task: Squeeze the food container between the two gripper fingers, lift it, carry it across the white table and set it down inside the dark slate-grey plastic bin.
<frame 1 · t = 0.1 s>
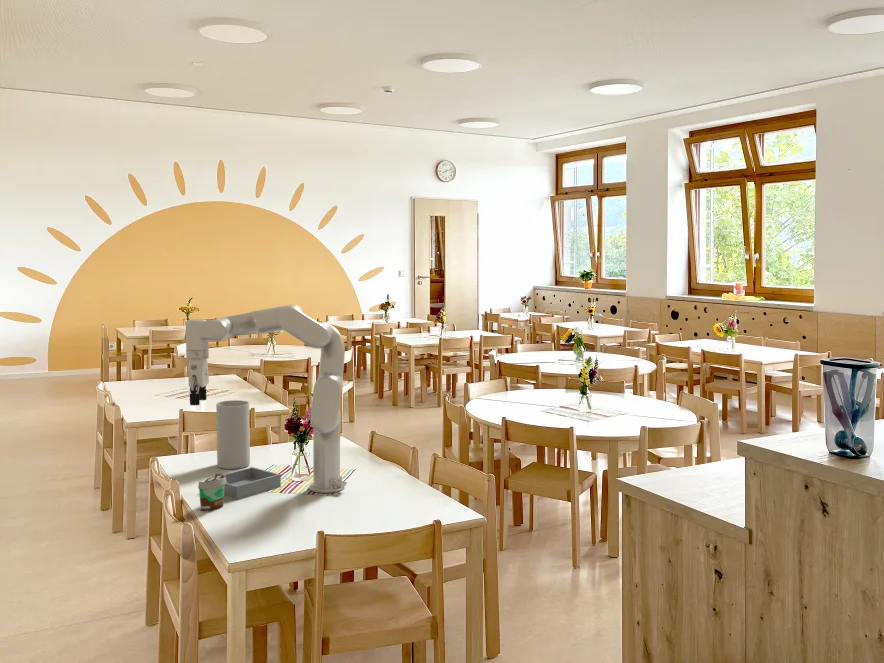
hand: (198, 402, 278), 31 cm above the table, tool pointing down, fingers open, 9 cm apart
bin: (244, 488, 282), on the table
cylinder vase: (233, 466, 312), on the table
food container: (216, 507, 261), on the table
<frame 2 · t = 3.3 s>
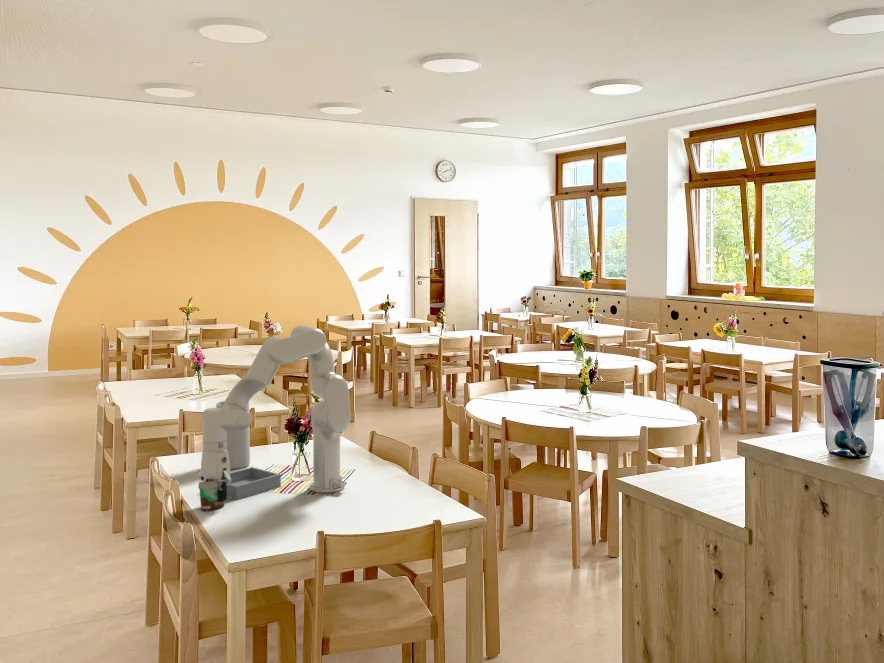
hand: (215, 498, 261), 3 cm above the table, tool pointing down, fingers closed on food container, 6 cm apart
food container: (217, 507, 261), on the table, touching gripper
everything else where it was.
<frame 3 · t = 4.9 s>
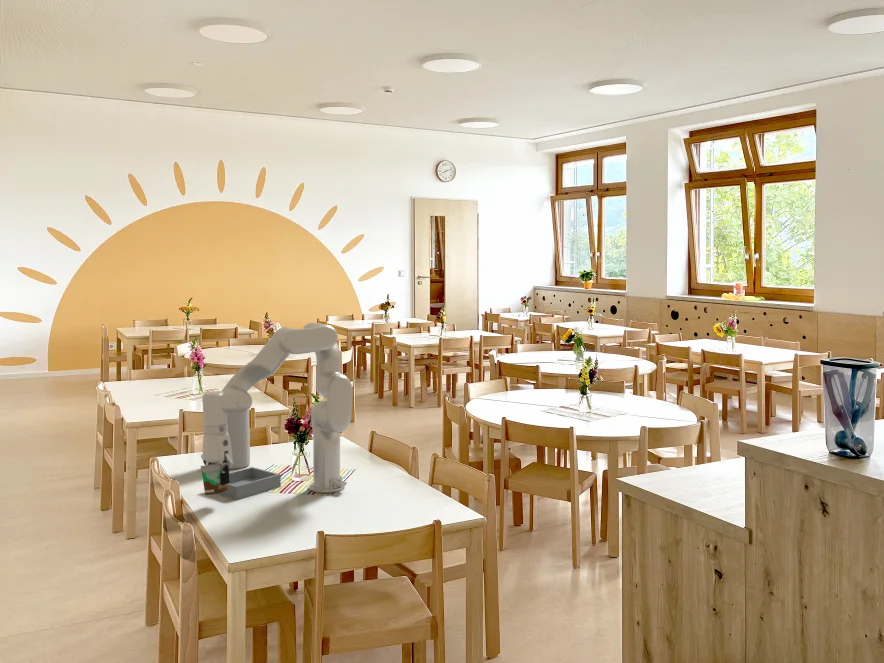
hand: (218, 481, 261), 8 cm above the table, tool pointing down, fingers closed on food container, 6 cm apart
food container: (221, 491, 261), point 5 cm above the table, touching gripper
everything else where it was.
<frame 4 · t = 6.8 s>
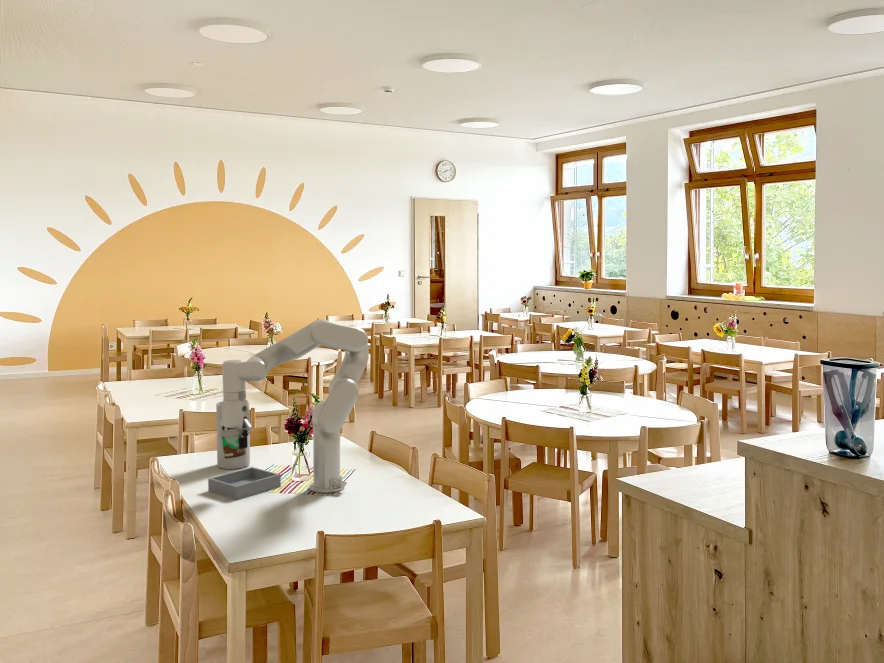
hand: (236, 446, 273), 17 cm above the table, tool pointing down, fingers closed on food container, 6 cm apart
food container: (239, 455, 273), point 14 cm above the table, touching gripper
everything else where it was.
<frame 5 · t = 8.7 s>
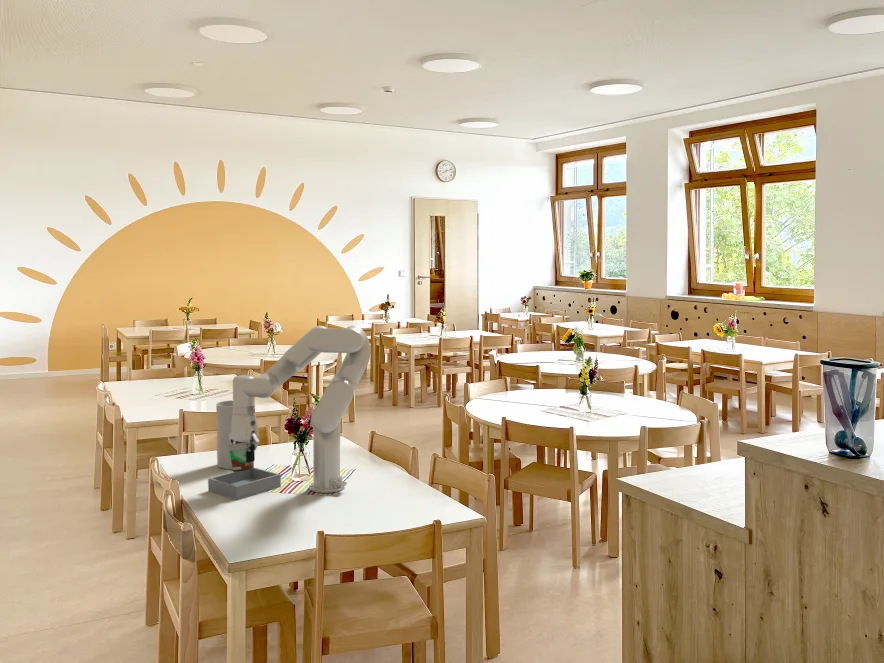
hand: (243, 459, 281), 11 cm above the table, tool pointing down, fingers closed on food container, 6 cm apart
food container: (247, 469, 281), point 7 cm above the table, touching gripper
everything else where it was.
when the fingers open (5 cm above the table, at t = 10.3 s): food container stays where it is, resting on bin.
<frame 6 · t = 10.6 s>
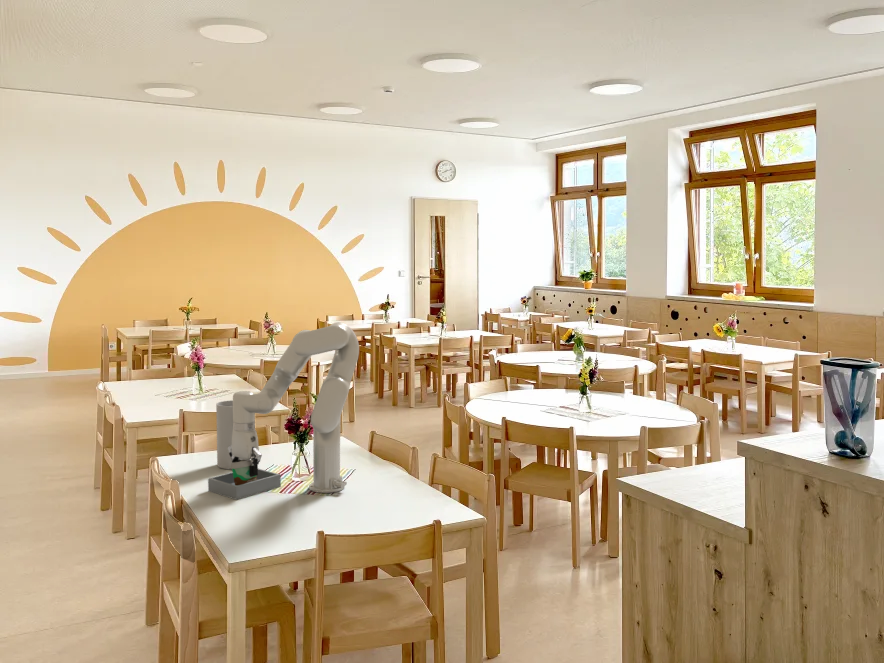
hand: (244, 473, 281), 6 cm above the table, tool pointing down, fingers open, 9 cm apart
food container: (250, 486, 281), point 1 cm above the table, touching bin, gripper
everything else where it was.
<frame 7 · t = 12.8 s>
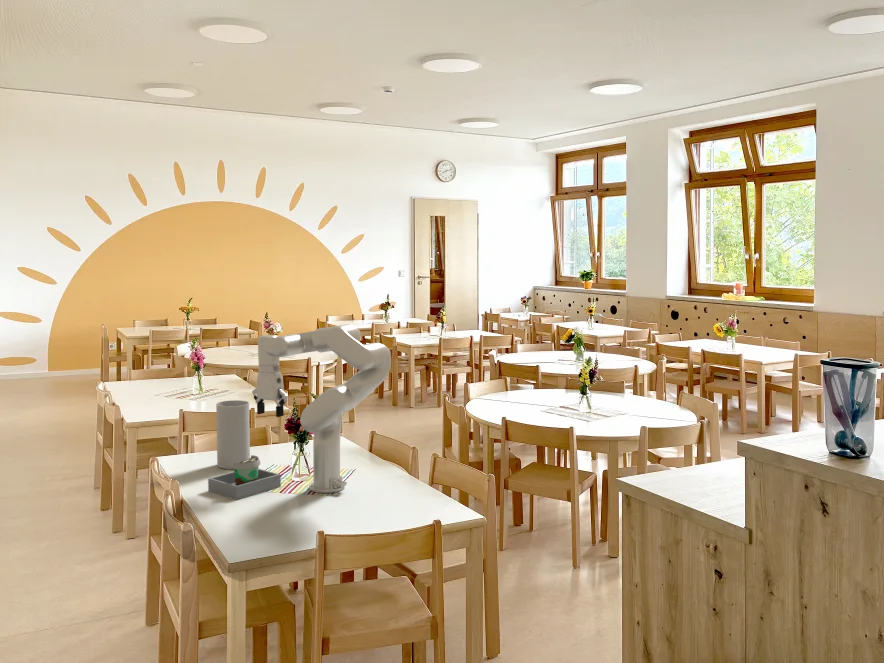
hand: (270, 415, 290), 25 cm above the table, tool pointing down, fingers open, 9 cm apart
food container: (250, 487, 281), point 1 cm above the table, touching bin
everything else where it was.
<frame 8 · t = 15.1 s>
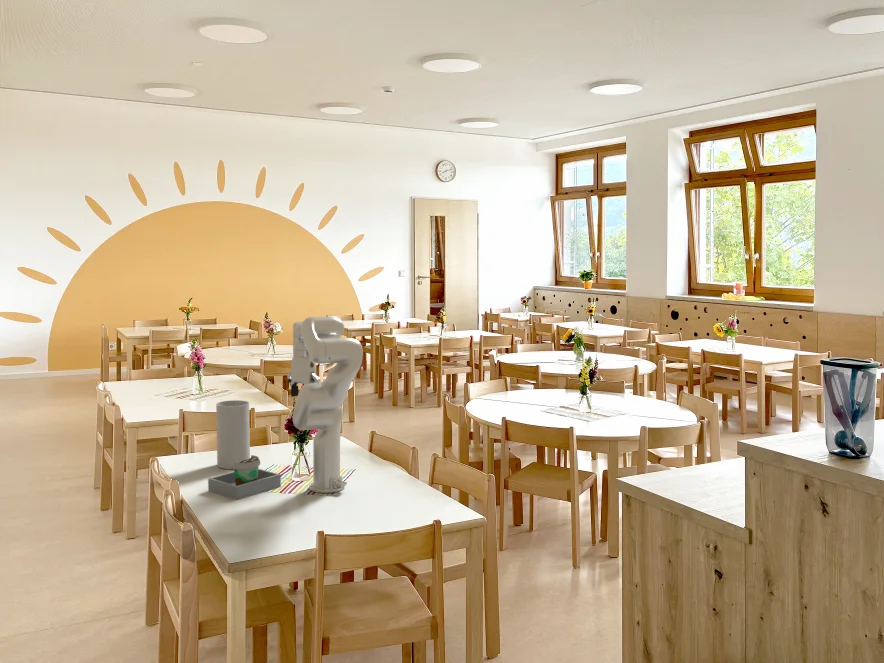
hand: (303, 397, 305), 28 cm above the table, tool pointing down, fingers open, 9 cm apart
nothing on the table moved.
at the end: food container inside the target area on the bin (2.3 cm from its centre), point 0.6 cm above the bin's base; food container tilted 0°; the gripper is holding nothing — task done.
